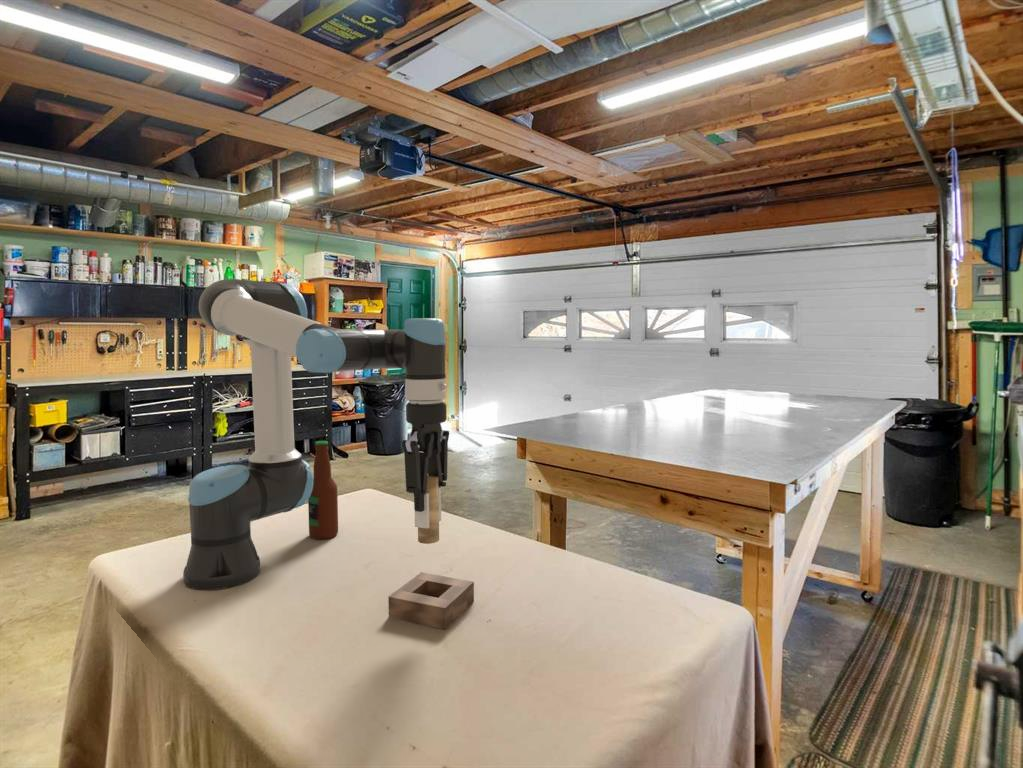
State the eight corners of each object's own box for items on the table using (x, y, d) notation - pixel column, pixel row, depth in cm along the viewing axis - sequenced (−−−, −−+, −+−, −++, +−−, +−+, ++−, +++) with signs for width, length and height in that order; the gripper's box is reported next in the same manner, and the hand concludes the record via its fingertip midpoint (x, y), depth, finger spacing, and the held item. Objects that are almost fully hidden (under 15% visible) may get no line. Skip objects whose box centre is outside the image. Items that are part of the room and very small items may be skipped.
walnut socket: (388, 617, 109) (388, 596, 109) (421, 590, 120) (421, 572, 120) (445, 629, 105) (445, 608, 104) (473, 601, 116) (473, 581, 116)
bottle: (317, 530, 157) (314, 438, 154) (342, 531, 156) (341, 439, 153) (303, 539, 149) (301, 443, 147) (330, 541, 148) (328, 444, 146)
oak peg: (414, 542, 110) (412, 479, 109) (425, 535, 113) (424, 474, 112) (432, 544, 108) (431, 481, 107) (443, 538, 112) (442, 476, 111)
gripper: (419, 407, 99) (422, 540, 101) (464, 397, 115) (466, 513, 117) (383, 405, 102) (386, 535, 104) (431, 396, 118) (433, 509, 120)
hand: (428, 523), depth 110 cm, fingers closed on oak peg, 4 cm apart
